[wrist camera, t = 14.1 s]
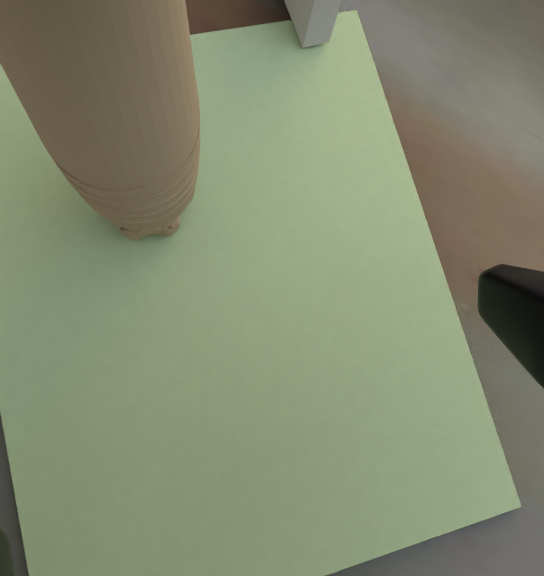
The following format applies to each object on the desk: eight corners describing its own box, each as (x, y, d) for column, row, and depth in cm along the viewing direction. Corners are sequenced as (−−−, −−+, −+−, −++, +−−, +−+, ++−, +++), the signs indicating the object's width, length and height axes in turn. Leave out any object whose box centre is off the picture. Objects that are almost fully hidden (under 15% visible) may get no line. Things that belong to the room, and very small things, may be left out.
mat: (515, 504, 18) (522, 507, 17) (49, 667, 15) (45, 674, 15) (354, 16, 21) (356, 9, 21) (-55, 78, 18) (-60, 72, 18)
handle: (200, 111, 19) (176, -827, 4) (230, 276, 18) (330, -237, 3) (67, 125, 18) (-509, -952, 4) (89, 298, 17) (-618, -239, 2)
